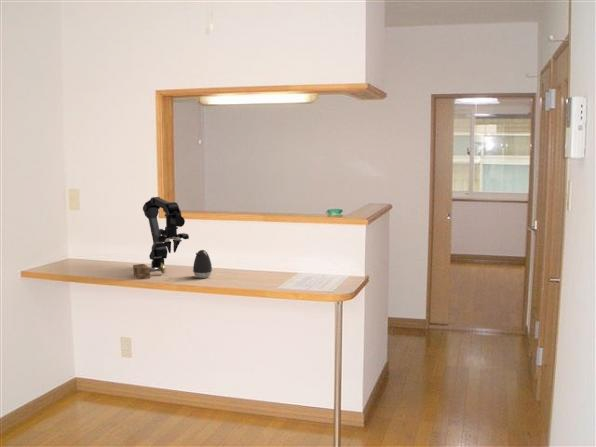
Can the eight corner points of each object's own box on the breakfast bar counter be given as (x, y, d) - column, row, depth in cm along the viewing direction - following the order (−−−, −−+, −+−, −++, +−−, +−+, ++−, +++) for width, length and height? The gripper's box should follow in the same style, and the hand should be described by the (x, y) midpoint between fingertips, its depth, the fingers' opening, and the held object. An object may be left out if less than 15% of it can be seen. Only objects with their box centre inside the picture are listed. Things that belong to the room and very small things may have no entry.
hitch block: (144, 274, 342) (144, 263, 341) (149, 278, 332) (149, 267, 331) (133, 275, 339) (133, 264, 339) (138, 279, 329) (138, 268, 328)
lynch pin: (162, 272, 343) (161, 262, 343) (164, 274, 339) (164, 263, 338) (144, 274, 339) (143, 264, 338) (146, 275, 334) (146, 265, 333)
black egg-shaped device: (189, 278, 332) (188, 250, 330) (200, 274, 341) (200, 247, 339) (204, 280, 327) (203, 252, 325) (215, 276, 336) (215, 249, 334)
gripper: (179, 222, 352) (180, 249, 354) (149, 225, 341) (150, 252, 342) (189, 224, 344) (189, 251, 346) (158, 227, 332) (159, 255, 334)
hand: (172, 252), depth 342 cm, fingers open, 3 cm apart
